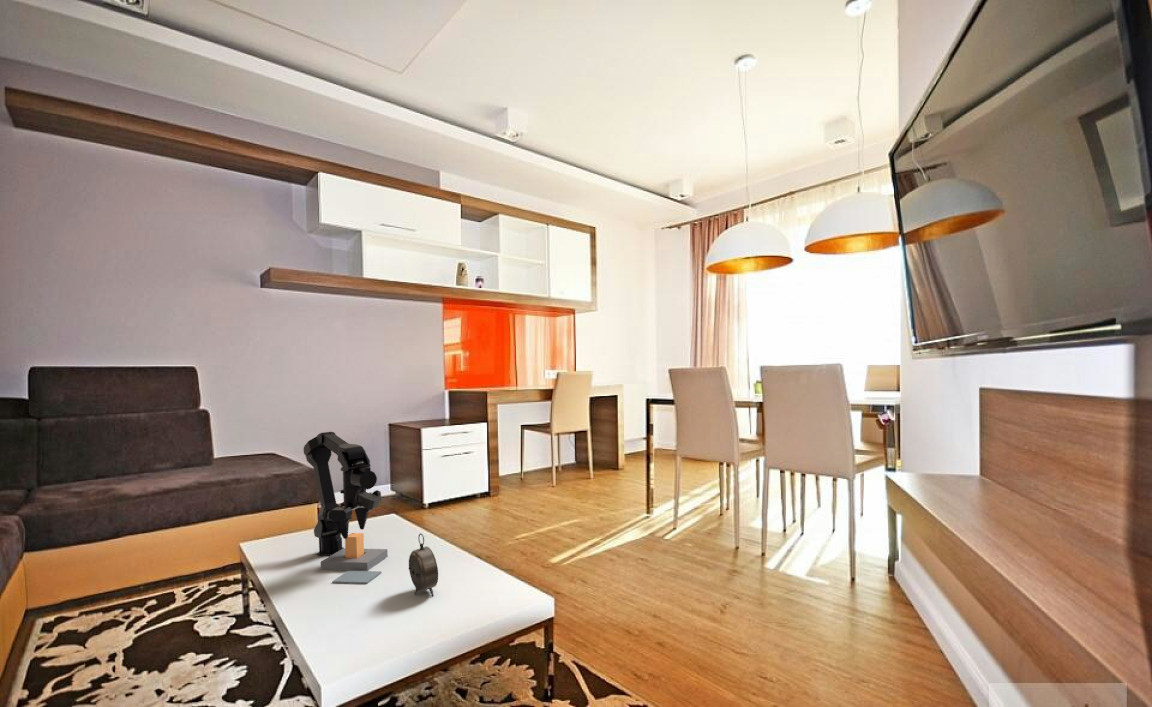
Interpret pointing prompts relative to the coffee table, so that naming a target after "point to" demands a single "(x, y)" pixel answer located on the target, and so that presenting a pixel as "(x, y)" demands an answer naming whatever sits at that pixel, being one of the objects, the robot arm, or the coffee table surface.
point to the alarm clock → (423, 568)
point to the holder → (354, 560)
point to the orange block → (354, 545)
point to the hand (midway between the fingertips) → (354, 533)
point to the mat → (357, 577)
